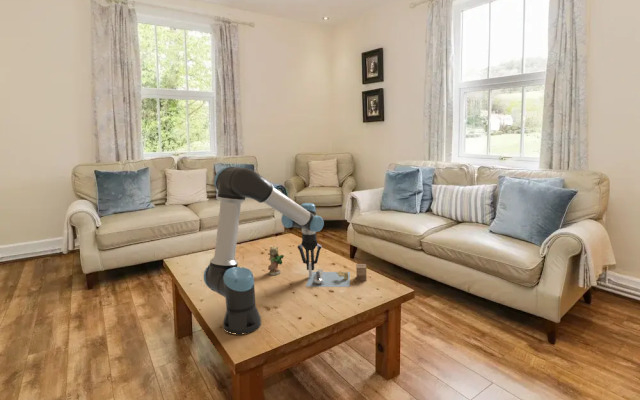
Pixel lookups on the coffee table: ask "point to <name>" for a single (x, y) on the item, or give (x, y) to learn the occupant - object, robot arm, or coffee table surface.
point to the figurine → (274, 261)
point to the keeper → (343, 275)
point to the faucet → (320, 281)
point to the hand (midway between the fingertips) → (310, 275)
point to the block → (361, 272)
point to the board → (329, 280)
